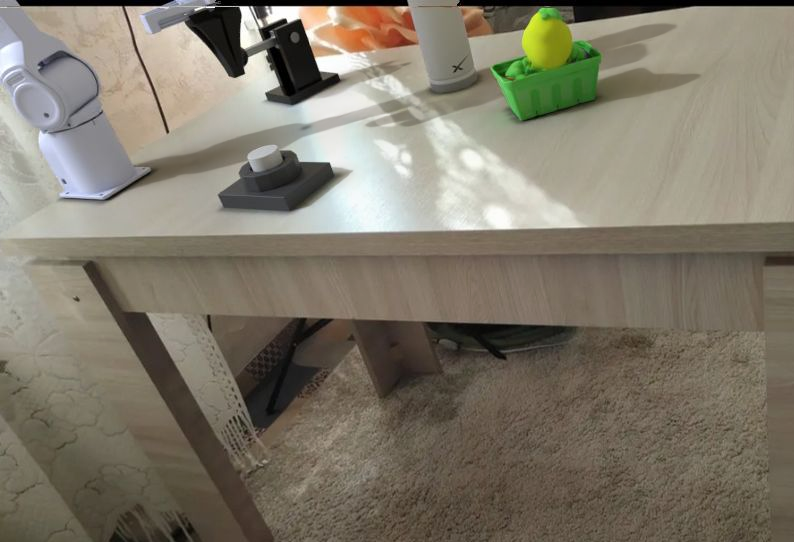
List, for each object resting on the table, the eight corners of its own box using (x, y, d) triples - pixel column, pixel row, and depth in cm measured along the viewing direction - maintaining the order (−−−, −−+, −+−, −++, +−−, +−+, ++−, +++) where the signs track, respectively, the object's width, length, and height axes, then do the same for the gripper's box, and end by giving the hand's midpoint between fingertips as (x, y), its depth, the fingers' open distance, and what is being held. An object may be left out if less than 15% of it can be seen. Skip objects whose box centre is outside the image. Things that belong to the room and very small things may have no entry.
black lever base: (292, 105, 111) (265, 35, 105) (267, 100, 115) (240, 34, 110) (340, 81, 115) (318, 13, 109) (315, 77, 120) (291, 12, 114)
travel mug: (474, 89, 99) (433, -83, 87) (426, 96, 101) (380, -71, 89) (484, 71, 104) (446, -94, 92) (438, 79, 106) (395, -82, 94)
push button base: (223, 208, 85) (210, 179, 83) (270, 174, 91) (258, 146, 89) (290, 211, 81) (277, 181, 78) (335, 176, 86) (324, 146, 84)
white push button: (247, 173, 83) (240, 158, 82) (267, 159, 86) (261, 144, 85) (270, 174, 82) (263, 159, 81) (290, 159, 84) (284, 144, 83)
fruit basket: (588, 80, 92) (573, -19, 86) (614, 102, 85) (600, -5, 79) (497, 108, 92) (475, 10, 85) (516, 132, 84) (494, 27, 78)
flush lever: (237, 72, 106) (228, 50, 104) (227, 71, 108) (218, 49, 106) (301, 44, 111) (293, 22, 109) (290, 43, 113) (282, 22, 111)
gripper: (132, -28, 77) (192, 103, 85) (259, -70, 83) (305, 56, 91) (112, -29, 82) (171, 95, 90) (234, -69, 88) (279, 50, 96)
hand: (237, 75), depth 91 cm, fingers closed
